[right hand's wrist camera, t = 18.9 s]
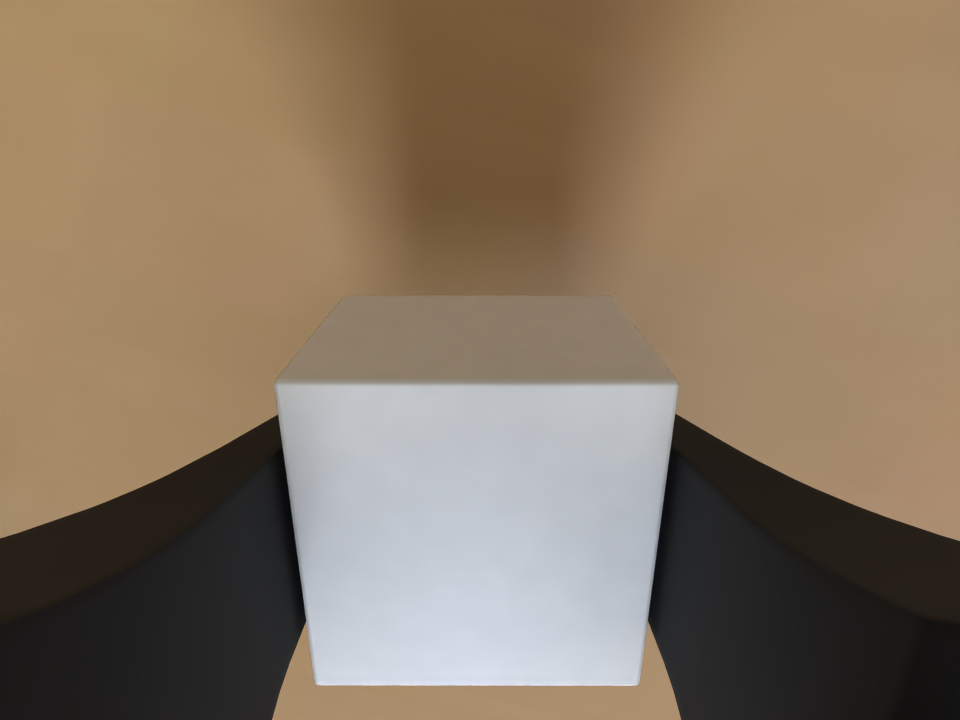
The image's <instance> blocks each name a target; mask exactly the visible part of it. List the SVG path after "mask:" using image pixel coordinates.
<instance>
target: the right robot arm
mask: <svg viewBox="0 0 960 720" xmlns="http://www.w3.org/2000/svg"><path fill="white" fill-rule="evenodd" d="M305 622H306V615H305V608H304V601H303V593H302V586H301V578H300V571H299V564H298V556H297V549H296V542H295V534H294V527H293V519H292V512H291V505H290V497H289V490H288V483H287V475H286V468H285V461H284V453H283V446H282V438H281V431H280V424H279V416H278V415H277V416H275V417H273V418H271V419H270V420H268V421H266V422H264V423H263V424H261V425H259V426H257V427H256V428H254V429H252V430H250V431H249V432H247V433H245V434H243V435H242V436H240V437H238V438H236V439H235V440H233V441H231V442H230V443H228V444H226V445H224V446H222V447H221V448H219V449H217V450H215V451H213V452H211V453H209V454H207V455H205V456H203V457H202V458H200V459H198V460H196V461H194V462H192V463H190V464H188V465H186V466H184V467H182V468H181V469H179V470H177V471H175V472H173V473H171V474H169V475H167V476H165V477H163V478H160V479H158V480H156V481H154V482H152V483H150V484H147V485H145V486H143V487H141V488H138V489H136V490H134V491H131V492H129V493H127V494H124V495H122V496H119V497H117V498H115V499H112V500H110V501H107V502H105V503H102V504H100V505H97V506H95V507H92V508H89V509H86V510H84V511H81V512H78V513H75V514H72V515H69V516H66V517H63V518H60V519H58V520H55V521H52V522H49V523H46V524H43V525H40V526H37V527H34V528H32V529H29V530H26V531H23V532H20V533H17V534H14V535H10V536H7V537H4V538H0V720H272V718H273V714H274V710H275V707H276V703H277V700H278V696H279V693H280V689H281V686H282V684H283V681H284V678H285V675H286V672H287V669H288V666H289V663H290V661H291V658H292V656H293V653H294V650H295V648H296V645H297V643H298V640H299V638H300V635H301V633H302V630H303V628H304V625H305ZM648 622H649V624H650V627H651V630H652V632H653V635H654V637H655V640H656V643H657V645H658V648H659V650H660V653H661V656H662V658H663V661H664V663H665V666H666V669H667V672H668V675H669V678H670V681H671V684H672V687H673V690H674V694H675V698H676V701H677V705H678V709H679V712H680V716H681V720H960V541H957V540H954V539H951V538H947V537H944V536H941V535H938V534H935V533H932V532H929V531H926V530H923V529H920V528H917V527H914V526H911V525H908V524H905V523H902V522H899V521H896V520H893V519H890V518H887V517H884V516H882V515H879V514H876V513H874V512H871V511H868V510H866V509H863V508H860V507H858V506H855V505H853V504H850V503H848V502H846V501H843V500H841V499H838V498H836V497H834V496H831V495H829V494H826V493H824V492H822V491H819V490H817V489H814V488H812V487H810V486H808V485H806V484H803V483H801V482H799V481H797V480H795V479H793V478H791V477H789V476H787V475H785V474H783V473H781V472H779V471H777V470H775V469H773V468H771V467H769V466H767V465H765V464H763V463H761V462H759V461H757V460H755V459H753V458H751V457H750V456H748V455H746V454H744V453H742V452H740V451H739V450H737V449H735V448H733V447H732V446H730V445H728V444H726V443H725V442H723V441H721V440H719V439H718V438H716V437H714V436H712V435H711V434H709V433H707V432H706V431H704V430H702V429H701V428H699V427H697V426H695V425H694V424H692V423H690V422H689V421H687V420H685V419H683V418H682V417H680V416H678V415H676V414H675V419H674V426H673V434H672V441H671V449H670V456H669V464H668V472H667V479H666V487H665V494H664V502H663V509H662V517H661V525H660V532H659V540H658V547H657V555H656V562H655V570H654V578H653V585H652V593H651V600H650V608H649V615H648Z"/></svg>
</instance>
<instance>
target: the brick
mask: <svg viewBox="0 0 960 720" xmlns="http://www.w3.org/2000/svg"><path fill="white" fill-rule="evenodd" d="M274 387H275V394H276V402H277V409H278V416H279V424H280V431H281V438H282V446H283V453H284V461H285V468H286V475H287V483H288V490H289V497H290V505H291V512H292V519H293V527H294V534H295V542H296V549H297V556H298V564H299V571H300V578H301V586H302V593H303V601H304V608H305V615H306V623H307V630H308V637H309V645H310V652H311V659H312V667H313V674H314V681H315V683H316V684H317V685H530V686H635V685H638V684H639V682H640V676H641V668H642V661H643V653H644V646H645V638H646V631H647V623H648V615H649V608H650V600H651V593H652V585H653V578H654V570H655V562H656V555H657V547H658V540H659V532H660V525H661V517H662V509H663V502H664V494H665V487H666V479H667V472H668V464H669V456H670V449H671V441H672V434H673V426H674V419H675V411H676V403H677V396H678V388H679V383H678V380H677V379H676V377H675V376H674V375H673V373H672V372H671V371H670V370H669V368H668V367H667V366H666V365H665V363H664V362H663V361H662V359H661V358H660V357H659V356H658V354H657V353H656V352H655V351H654V349H653V348H652V347H651V345H650V344H649V343H648V342H647V340H646V339H645V338H644V337H643V335H642V334H641V333H640V331H639V330H638V329H637V328H636V326H635V325H634V324H633V323H632V321H631V320H630V319H629V317H628V316H627V315H626V314H625V312H624V311H623V310H622V309H621V307H620V306H619V305H618V304H617V302H616V301H615V300H614V298H613V297H611V296H403V295H346V296H344V297H343V298H342V299H341V300H340V302H339V303H338V304H337V305H336V306H335V308H334V309H333V310H332V311H331V313H330V314H329V315H328V316H327V317H326V319H325V320H324V321H323V322H322V324H321V325H320V326H319V327H318V328H317V330H316V331H315V332H314V333H313V335H312V336H311V337H310V338H309V339H308V341H307V342H306V343H305V344H304V346H303V347H302V348H301V349H300V350H299V352H298V353H297V354H296V355H295V356H294V358H293V359H292V360H291V361H290V363H289V364H288V365H287V366H286V367H285V369H284V370H283V371H282V372H281V374H280V375H279V376H278V377H277V378H276V380H275V383H274Z"/></svg>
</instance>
